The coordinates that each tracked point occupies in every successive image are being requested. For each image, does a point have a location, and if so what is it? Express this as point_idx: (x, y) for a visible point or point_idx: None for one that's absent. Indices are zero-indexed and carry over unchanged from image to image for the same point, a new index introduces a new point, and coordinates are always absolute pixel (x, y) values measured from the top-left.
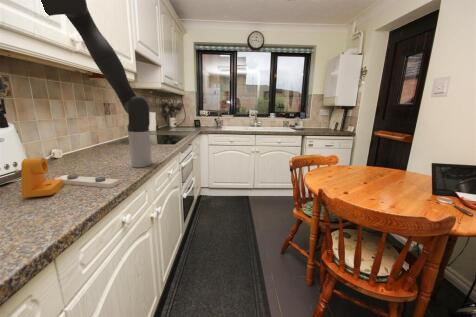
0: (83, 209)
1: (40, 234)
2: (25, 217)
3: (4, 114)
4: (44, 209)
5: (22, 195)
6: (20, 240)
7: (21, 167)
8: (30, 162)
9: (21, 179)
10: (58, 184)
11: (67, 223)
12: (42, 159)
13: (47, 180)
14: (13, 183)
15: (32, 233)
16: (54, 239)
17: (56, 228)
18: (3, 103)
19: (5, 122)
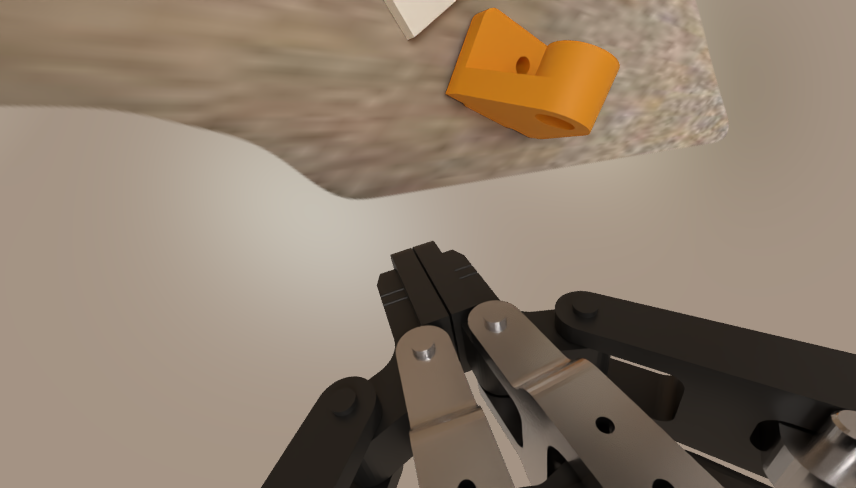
0: (670, 15)
1: (689, 104)
2: (620, 127)
3: (519, 318)
4: (612, 92)
5: (534, 137)
6: (683, 130)
7: (581, 135)
8: (602, 104)
9: (559, 137)
10: (525, 33)
11: (692, 61)
12: (611, 58)
13: (470, 62)
14: (318, 181)
15: (679, 115)
16: (714, 87)
17: (692, 80)
18: (831, 359)
19: (473, 271)
